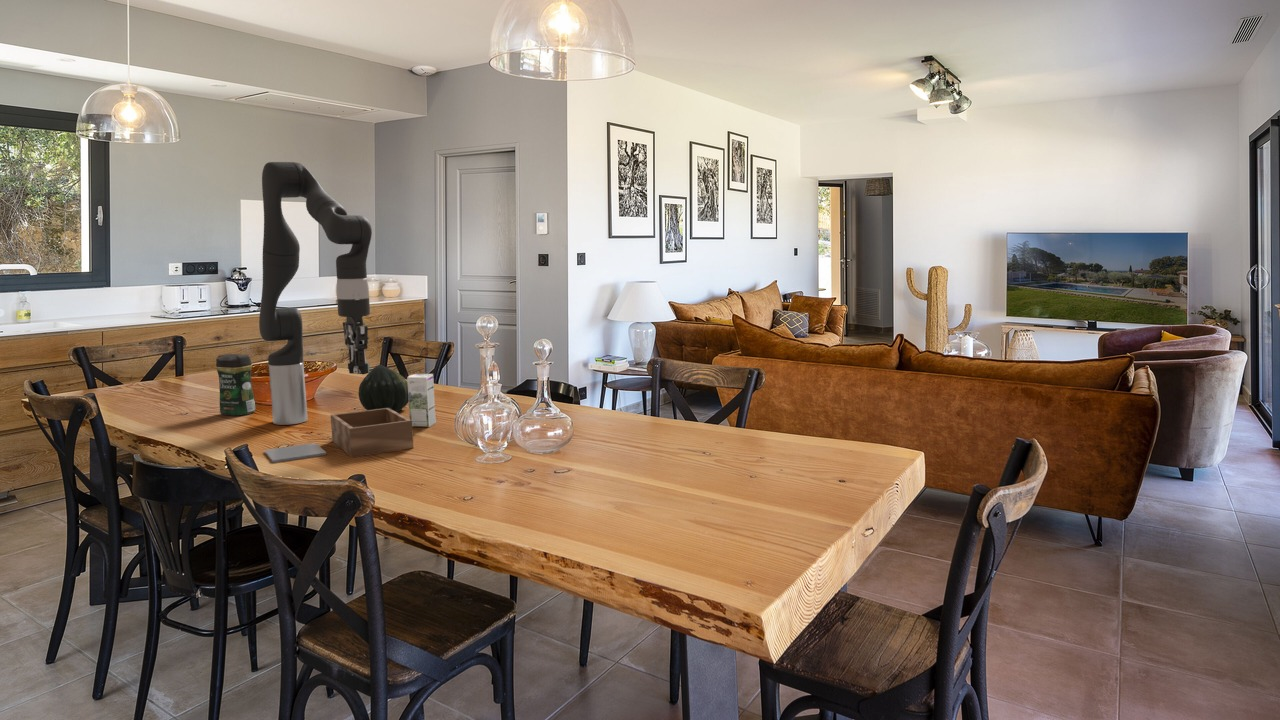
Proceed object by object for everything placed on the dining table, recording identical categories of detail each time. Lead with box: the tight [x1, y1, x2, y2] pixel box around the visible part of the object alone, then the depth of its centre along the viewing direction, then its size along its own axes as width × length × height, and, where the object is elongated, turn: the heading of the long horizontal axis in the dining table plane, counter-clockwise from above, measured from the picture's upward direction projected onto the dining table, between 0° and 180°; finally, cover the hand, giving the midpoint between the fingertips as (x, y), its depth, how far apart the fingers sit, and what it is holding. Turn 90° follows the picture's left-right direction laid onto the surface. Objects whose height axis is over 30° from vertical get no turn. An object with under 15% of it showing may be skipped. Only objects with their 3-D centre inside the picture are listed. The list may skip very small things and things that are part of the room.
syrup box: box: [406, 373, 437, 428], centre depth 223 cm, size 6×6×14 cm
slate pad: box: [264, 442, 327, 464], centre depth 194 cm, size 12×12×1 cm
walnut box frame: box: [330, 408, 414, 458], centre depth 202 cm, size 20×15×7 cm
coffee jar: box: [215, 353, 256, 417], centre depth 242 cm, size 10×8×19 cm
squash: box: [358, 364, 409, 413], centre depth 244 cm, size 14×15×15 cm
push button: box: [344, 337, 370, 375], centre depth 199 cm, size 7×5×10 cm
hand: (357, 364), depth 199 cm, fingers closed on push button, 5 cm apart
